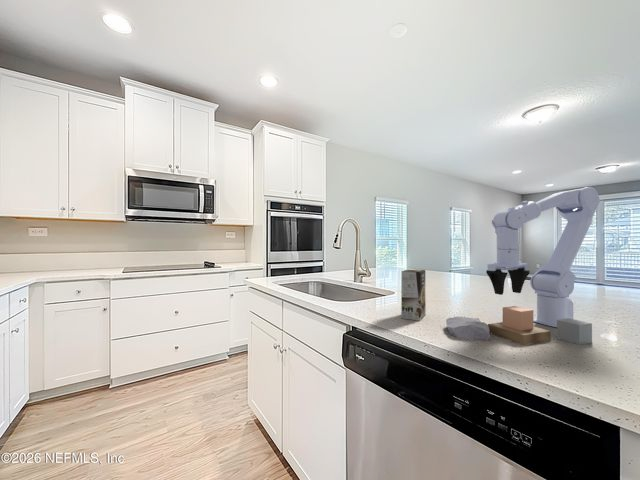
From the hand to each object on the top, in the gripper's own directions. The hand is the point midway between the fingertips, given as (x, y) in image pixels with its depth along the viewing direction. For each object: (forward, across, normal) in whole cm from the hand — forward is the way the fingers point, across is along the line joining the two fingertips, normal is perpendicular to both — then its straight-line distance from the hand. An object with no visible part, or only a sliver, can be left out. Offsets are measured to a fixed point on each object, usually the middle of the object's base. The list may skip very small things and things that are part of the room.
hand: (507, 293), depth 86 cm
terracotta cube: (+7, +7, +8) cm, 13 cm away
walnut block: (+10, +7, +8) cm, 15 cm away
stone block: (+10, +18, +1) cm, 21 cm away
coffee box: (+10, +21, -18) cm, 29 cm away
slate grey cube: (+10, -4, +15) cm, 18 cm away
